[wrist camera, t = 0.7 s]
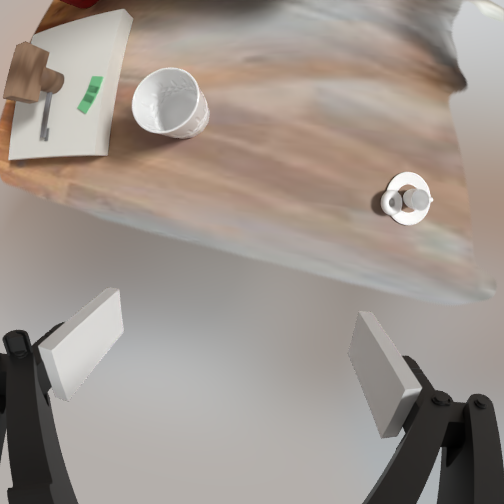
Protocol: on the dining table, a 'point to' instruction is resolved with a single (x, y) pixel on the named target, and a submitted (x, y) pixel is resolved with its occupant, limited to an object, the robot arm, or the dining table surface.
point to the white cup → (170, 104)
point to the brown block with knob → (32, 79)
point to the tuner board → (75, 89)
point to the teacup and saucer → (407, 199)
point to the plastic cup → (81, 3)
